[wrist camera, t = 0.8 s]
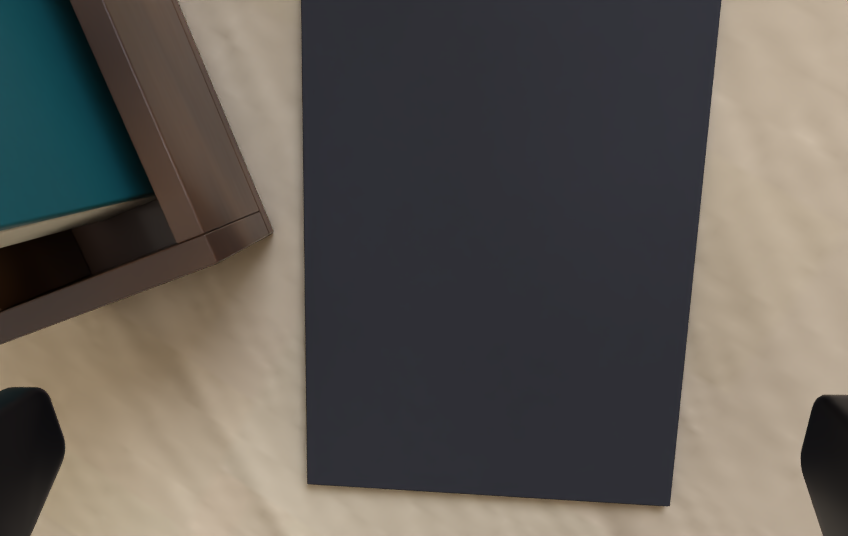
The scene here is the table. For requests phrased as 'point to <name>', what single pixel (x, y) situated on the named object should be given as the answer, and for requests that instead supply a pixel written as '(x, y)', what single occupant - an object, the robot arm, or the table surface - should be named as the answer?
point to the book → (58, 128)
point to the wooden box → (165, 168)
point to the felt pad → (501, 241)
